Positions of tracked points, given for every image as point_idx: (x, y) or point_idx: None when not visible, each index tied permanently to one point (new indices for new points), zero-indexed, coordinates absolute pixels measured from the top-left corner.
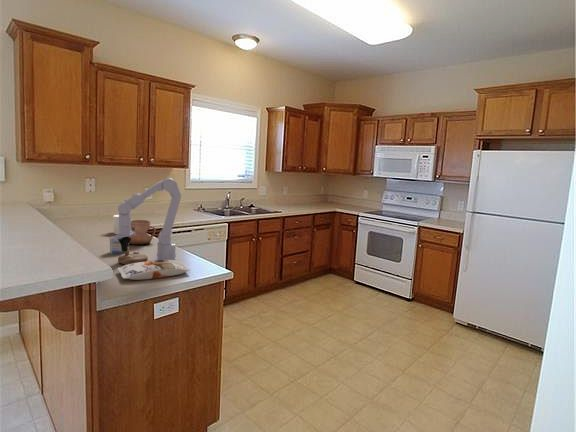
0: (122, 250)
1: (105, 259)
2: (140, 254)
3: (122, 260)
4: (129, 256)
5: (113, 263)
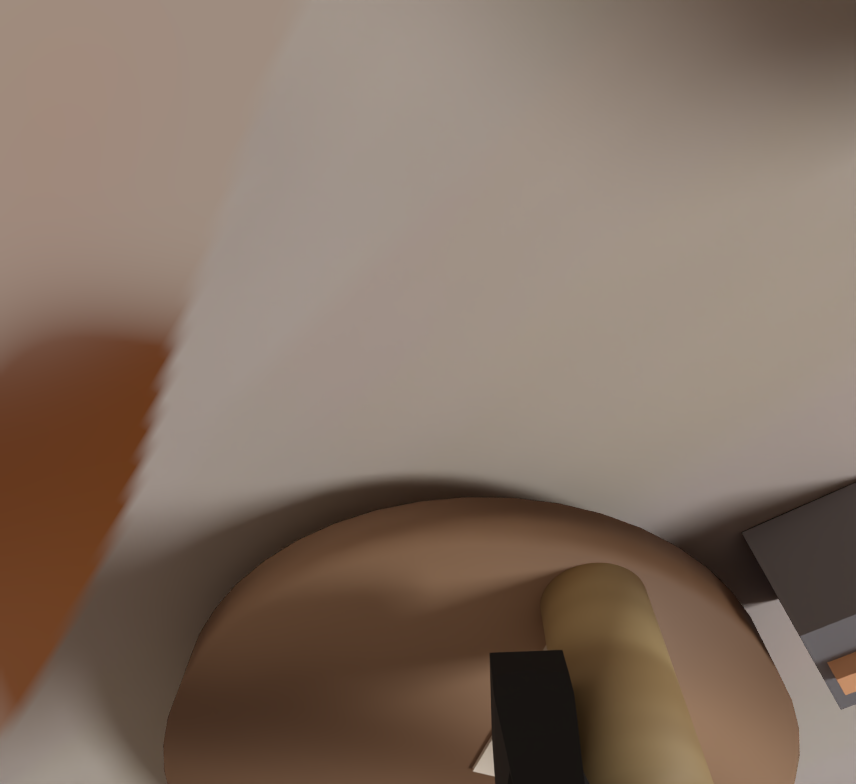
0: (491, 687)
1: (318, 37)
2: (762, 772)
3: (171, 777)
4: None
5: (197, 470)
